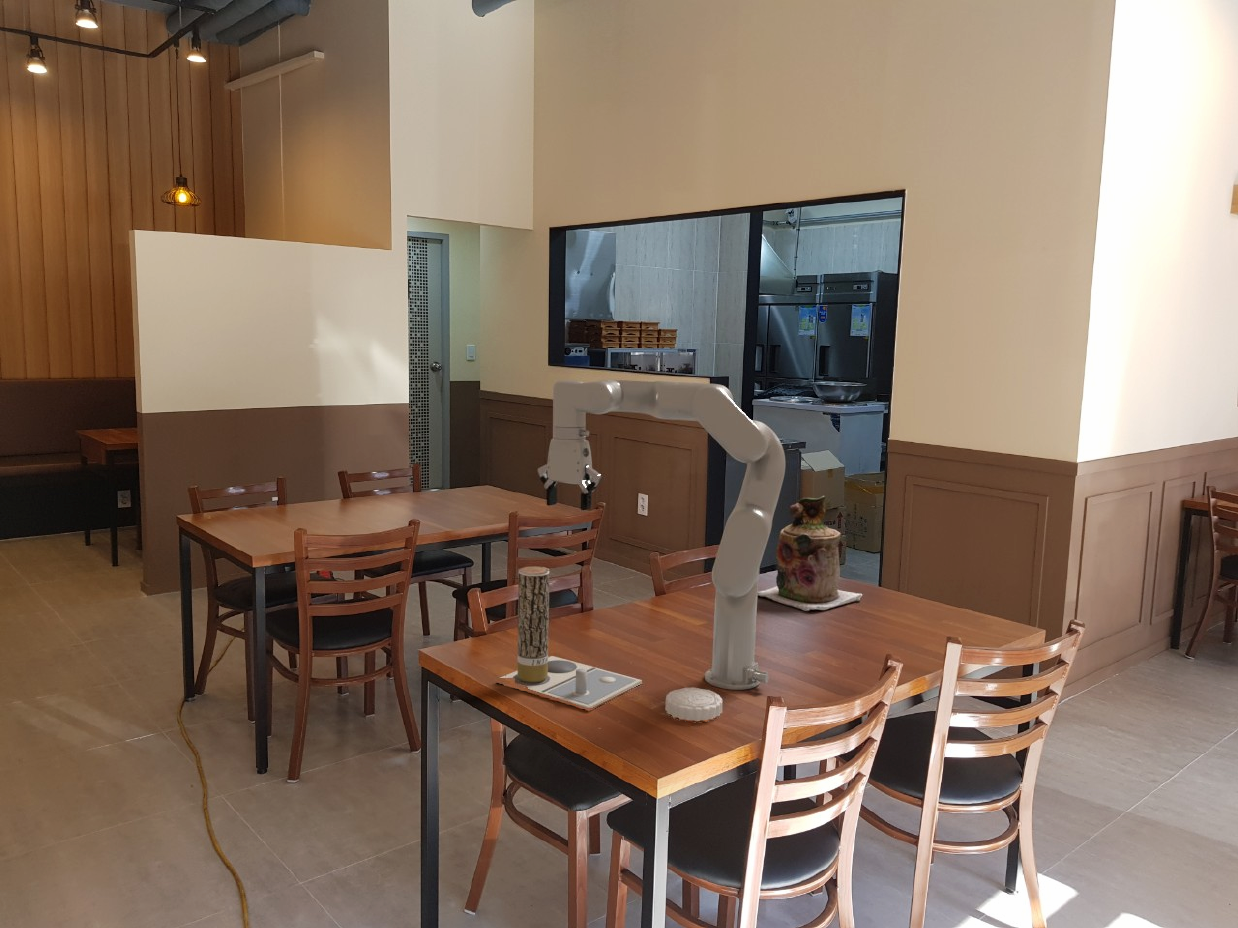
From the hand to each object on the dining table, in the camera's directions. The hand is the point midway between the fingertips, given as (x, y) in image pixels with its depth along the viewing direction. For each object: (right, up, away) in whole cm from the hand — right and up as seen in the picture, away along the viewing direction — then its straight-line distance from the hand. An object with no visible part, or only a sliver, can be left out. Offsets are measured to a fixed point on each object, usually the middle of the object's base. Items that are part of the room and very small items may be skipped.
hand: (568, 507), depth 224 cm
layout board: (+1, -40, -8) cm, 40 cm away
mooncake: (+28, -43, -21) cm, 55 cm away
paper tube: (-8, -38, -8) cm, 40 cm away
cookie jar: (+69, -31, +68) cm, 101 cm away
